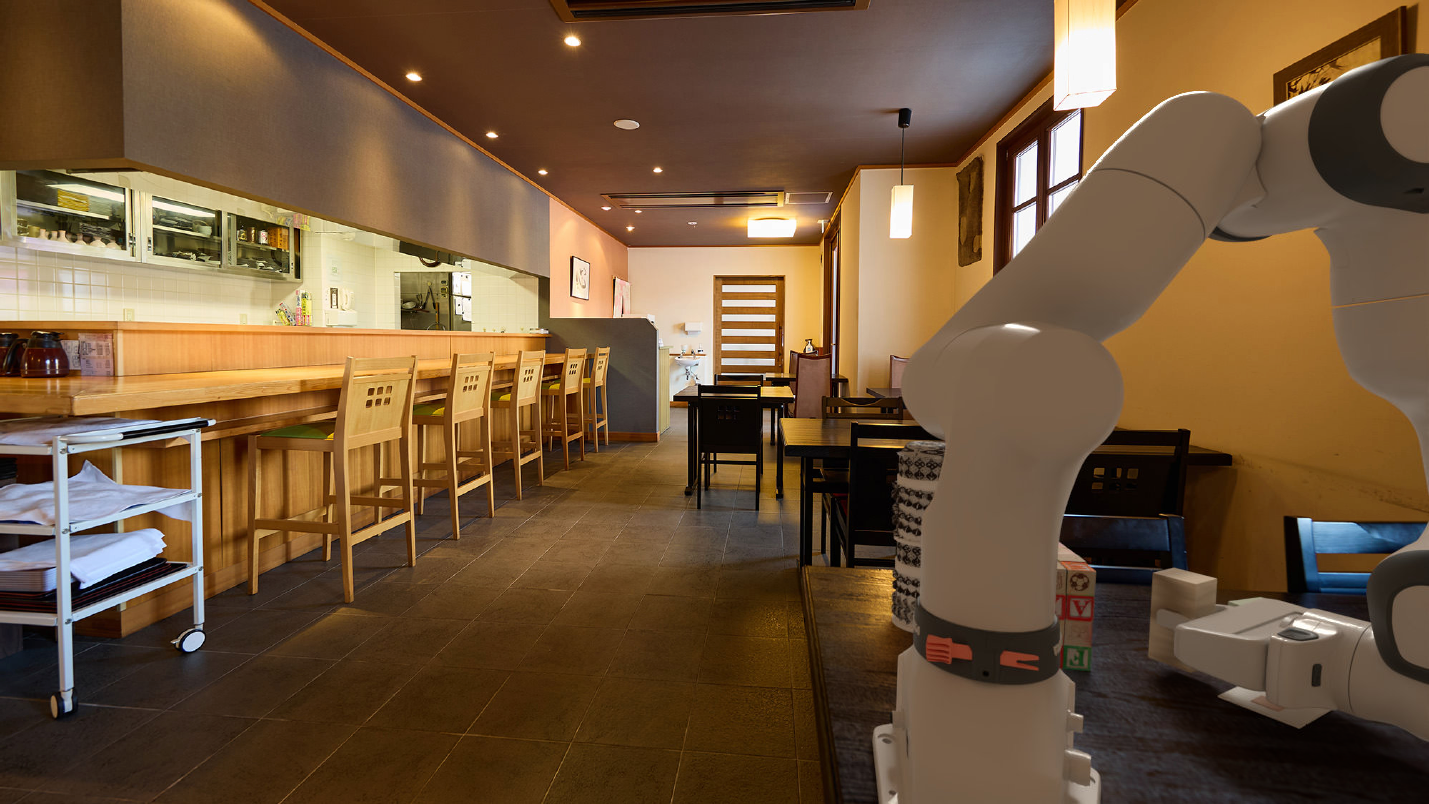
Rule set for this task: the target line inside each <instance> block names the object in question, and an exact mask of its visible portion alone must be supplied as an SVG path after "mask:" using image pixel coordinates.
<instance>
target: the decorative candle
mask: <svg viewBox="0 0 1429 804" xmlns="http://www.w3.org/2000/svg"><path fill="white" fill-rule="evenodd" d="M945 444H946V442H941V441H940V442H939V441H927V440H918V441H917V440H916V441H909V442H907V443H906V444H905V445H904V447H902V450H901V451H898V452H896V453H897V455H898V473H897V475H896V476H897V477H896V479H897V480H895V481H892V482H891V485H892V488H894V489H893V490H892V491H891V498H892V499H894V500H895V501H896V502H895V503H894V504H893V505H892V513H893V514H894V515H892V517H891V518H892V520H891V521H892V524H893V525H895V527H896V528H895V529H894V530H892V531H893V532H892V534H893V539H894V540H896V556H895V558H894V559H895V560H894V561H895V564H894V565H895V566H894V568H893V570H892V577H893V579H894V580H892V581H891V582H892V583H891V584H892V585H891V587H892V589H894V591H893V592H892V594H891V602H892V604H891V607H890V608H891V613H892V615H891V623H893V624H894V625H895V626H896V627H897V628H899V629H901V630H903V631H906V632H908V633H912V634H913V631H914V628H913V613H914V610H915V600H916V599H917V597H918V596H920V569H921V531H922V517H923V514H924V511H925V509H926V508H927V506H928V505H929V504H930V503H931V501H932V499H933V496H934V493H935V491H936V487H937V484H938V480H939V476H940V472H941V468H942V464H943V459H944V454H945Z"/></svg>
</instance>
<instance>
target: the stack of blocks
mask: <svg viewBox="0 0 1429 804" xmlns="http://www.w3.org/2000/svg"><path fill="white" fill-rule="evenodd" d="M1096 578H1097V571H1096V570H1095V569H1094V568H1092V566H1091V565H1089V564H1088V563H1087V562H1086V560H1084V559H1083V558H1082V557H1081V556H1080V555H1078V554H1076V553H1075V552H1073V551H1072V550H1071V549H1069V548H1068V547H1066V546H1065V544H1062V543H1061V541H1059V545H1058V563H1057V581H1056V601H1055V614H1056V615H1057V616H1058V618H1059V620H1060V632H1061V636H1062V647H1061V650H1060V669H1061V670H1071V671H1084V672H1085V671H1086V672H1091V671H1092V670H1091V668H1092V655H1093V647H1092V644H1093V643H1092V642H1093V641H1092V639H1093V627H1094V626H1093V625H1094V623H1093V621H1094V620H1095V601H1096V600H1095V594H1096V582H1097V581H1096V580H1097V579H1096Z"/></svg>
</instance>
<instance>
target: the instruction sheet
mask: <svg viewBox="0 0 1429 804" xmlns="http://www.w3.org/2000/svg"><path fill="white" fill-rule="evenodd" d="M1217 697H1218V698H1220V699H1222V700H1224V701H1227V702H1229V703H1232V704H1234V705H1237V706H1240V707H1241V708H1245V709H1248V710H1250V711H1252V712H1256V713H1258V714H1261V715H1262V716H1266V717H1269V718H1270V719H1273V720H1276V721H1278V722H1281V723H1283V724H1286V725H1288V726H1291V727H1294V728H1297V729H1299V730H1300V729H1301V728H1304V727H1305V726H1306V724H1307V725H1309V724H1310V723H1312V722H1313V721H1315V720H1317V719H1318V718H1320V717H1322V716H1324V715H1326V714H1327V713H1329V712H1331V711H1332V710H1328V709H1322V708H1303V709H1287V708H1283V707H1280V706H1278V705H1275V704H1272V703H1270V702H1268V701H1267V700H1266V692H1258V691H1252V690H1248V689H1244V688H1241V687H1238V686H1235V687H1233V688H1232V689H1229V690H1227V691H1225V692H1223V693H1220V694H1218V695H1217Z"/></svg>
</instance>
